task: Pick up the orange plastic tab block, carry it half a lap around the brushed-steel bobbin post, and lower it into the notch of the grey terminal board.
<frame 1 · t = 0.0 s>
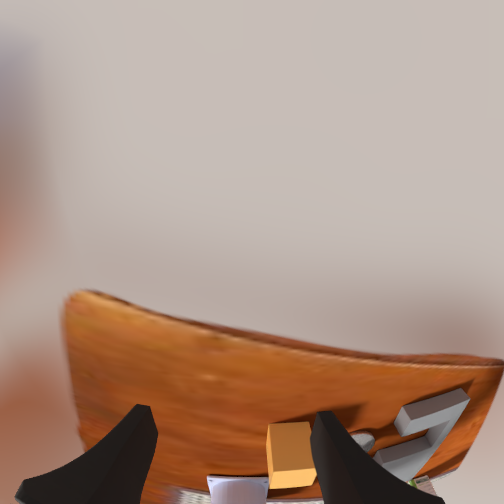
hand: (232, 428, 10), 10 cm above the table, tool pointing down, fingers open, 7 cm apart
bobbin post: (349, 445, 24), on the table
syrup box: (410, 483, 31), on the table
terminal board: (405, 445, 26), on the table
tab block: (286, 433, 23), on the table
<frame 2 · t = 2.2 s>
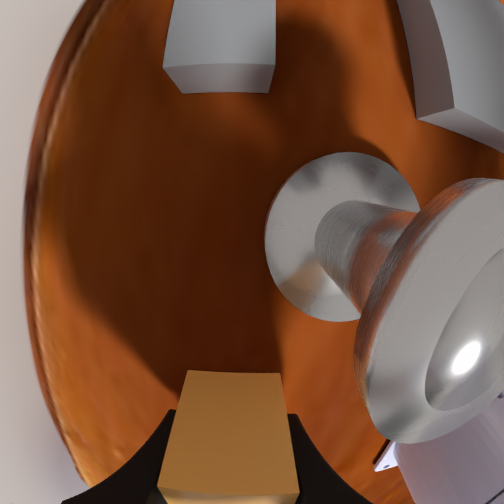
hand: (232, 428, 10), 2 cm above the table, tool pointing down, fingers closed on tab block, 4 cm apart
bobbin post: (345, 237, 10), on the table
terminal board: (420, 31, 7), on the table
tab block: (233, 403, 11), on the table, touching gripper
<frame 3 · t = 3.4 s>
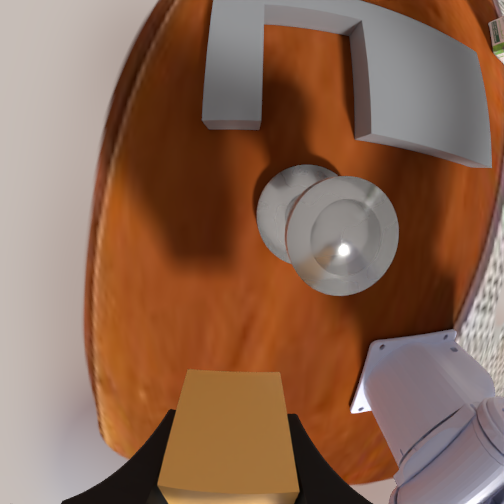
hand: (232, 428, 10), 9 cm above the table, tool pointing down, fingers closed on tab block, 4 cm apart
bobbin post: (305, 214, 16), on the table
terminal board: (366, 73, 14), on the table
tab block: (233, 402, 11), point 7 cm above the table, touching gripper
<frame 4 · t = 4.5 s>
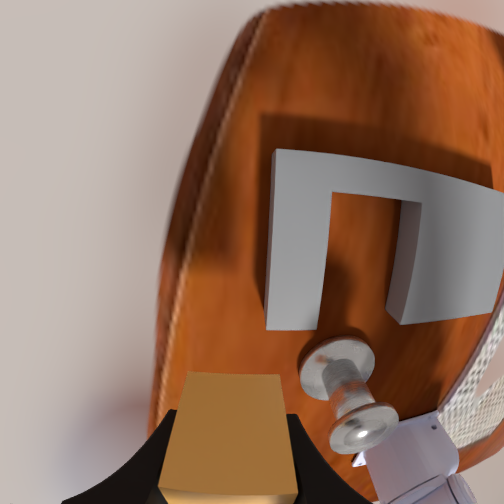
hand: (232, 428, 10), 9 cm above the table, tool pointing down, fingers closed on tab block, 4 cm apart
bobbin post: (336, 366, 19), on the table
terminal board: (408, 243, 17), on the table
tab block: (233, 404, 11), point 7 cm above the table, touching gripper
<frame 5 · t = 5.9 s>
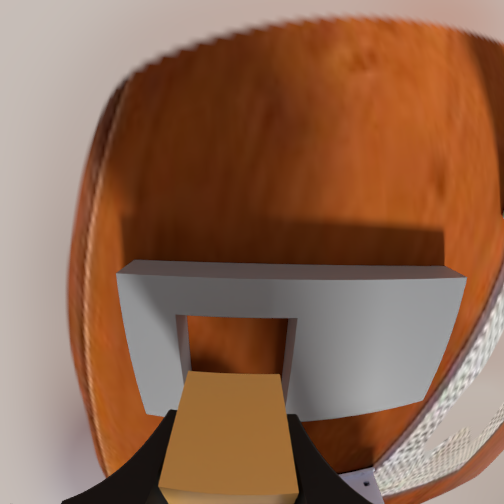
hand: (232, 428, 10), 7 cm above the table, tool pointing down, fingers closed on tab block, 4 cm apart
terminal board: (301, 341, 16), on the table
tab block: (233, 403, 11), point 5 cm above the table, touching gripper
when the fingers open (4 cm above the table, at t = 6.8 s): tab block drops 2 cm, resting in terminal board.
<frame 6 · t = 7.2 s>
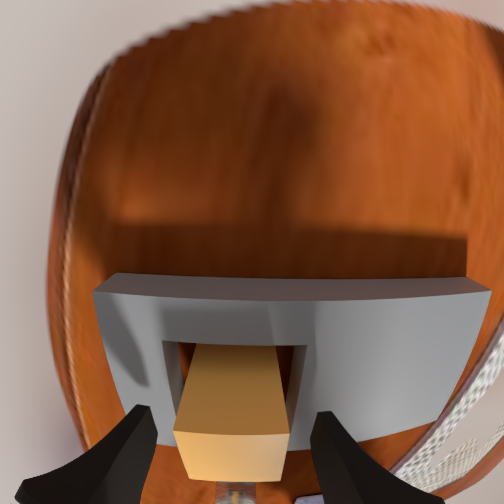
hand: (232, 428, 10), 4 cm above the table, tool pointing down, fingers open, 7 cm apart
bobbin post: (236, 459, 16), on the table
terminal board: (309, 364, 14), on the table
tab block: (236, 372, 14), resting in terminal board
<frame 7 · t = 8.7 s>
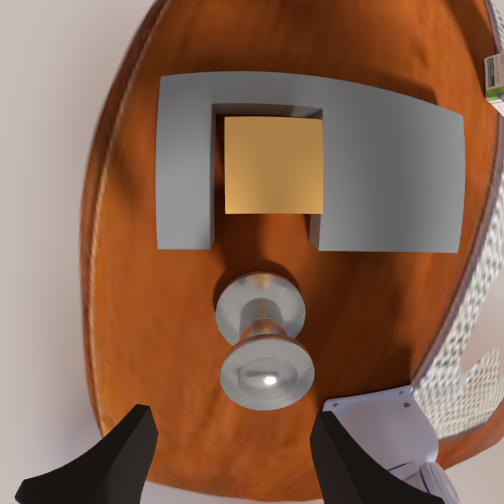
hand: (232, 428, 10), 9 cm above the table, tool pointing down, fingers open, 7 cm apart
bobbin post: (260, 311, 19), on the table
syrup box: (498, 93, 14), on the table
terminal board: (327, 164, 16), on the table
tab block: (264, 170, 16), resting in terminal board
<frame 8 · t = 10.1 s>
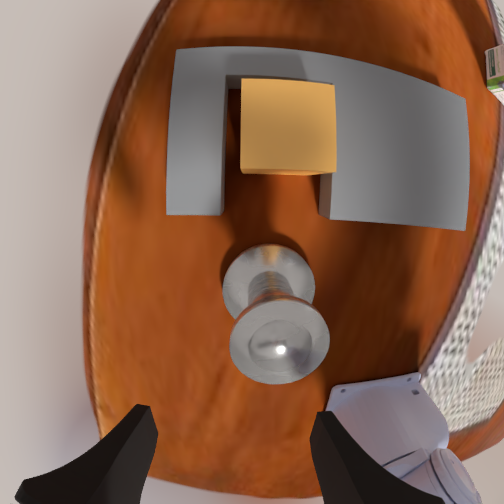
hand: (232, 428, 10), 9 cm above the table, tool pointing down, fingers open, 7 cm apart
bobbin post: (268, 287, 18), on the table
syrup box: (499, 84, 14), on the table
terminal board: (336, 139, 16), on the table
tab block: (275, 143, 16), resting in terminal board
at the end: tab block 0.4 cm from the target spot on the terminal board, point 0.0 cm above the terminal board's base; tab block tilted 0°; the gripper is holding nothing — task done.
